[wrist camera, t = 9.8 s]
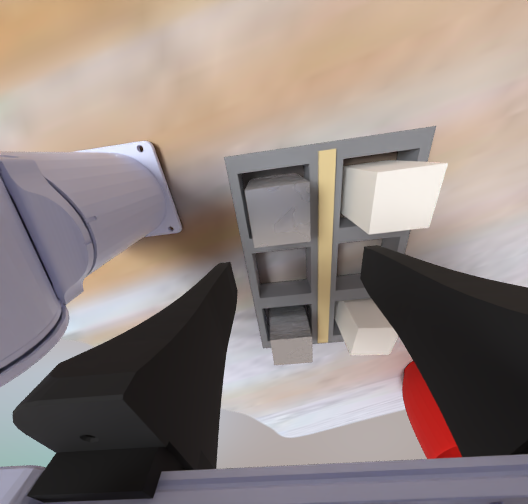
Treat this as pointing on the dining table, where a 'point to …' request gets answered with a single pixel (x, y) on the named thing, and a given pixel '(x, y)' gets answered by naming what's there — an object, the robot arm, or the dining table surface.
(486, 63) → the dining table surface
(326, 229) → the peg board
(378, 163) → the placed cream pin
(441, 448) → the ceramic cup
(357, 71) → the dining table surface
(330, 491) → the robot arm
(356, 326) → the cream rectangular block
